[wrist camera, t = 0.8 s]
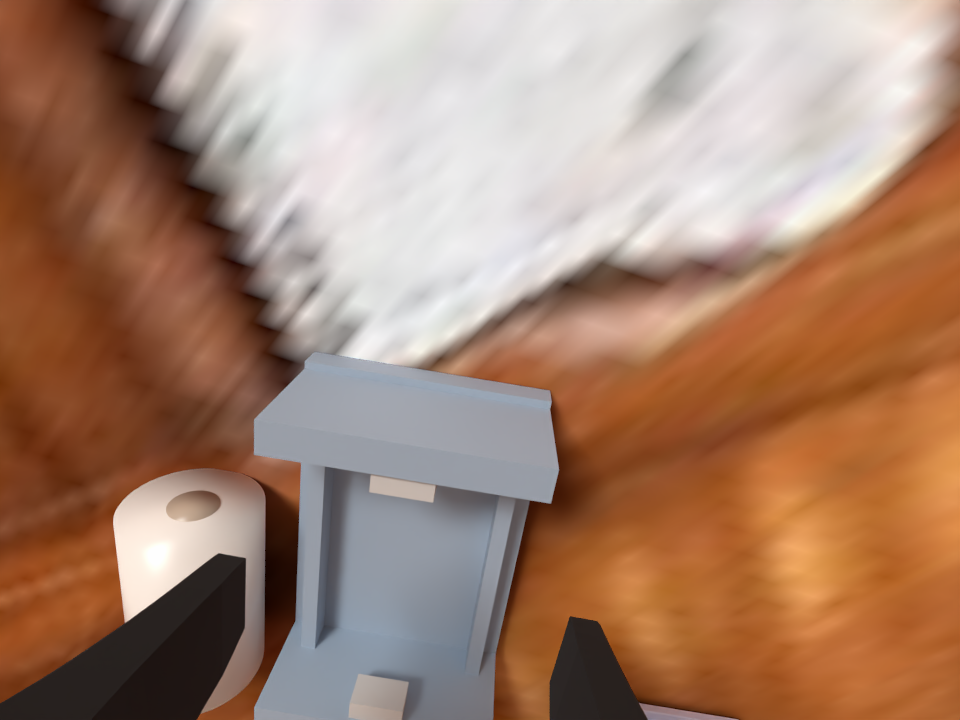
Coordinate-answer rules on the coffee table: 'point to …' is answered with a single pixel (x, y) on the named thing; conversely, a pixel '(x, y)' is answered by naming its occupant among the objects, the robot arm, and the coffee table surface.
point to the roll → (196, 551)
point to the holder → (402, 536)
